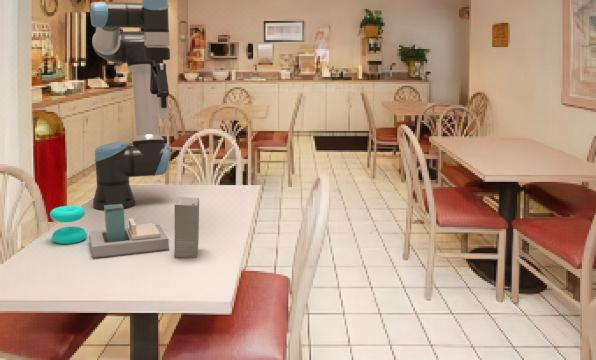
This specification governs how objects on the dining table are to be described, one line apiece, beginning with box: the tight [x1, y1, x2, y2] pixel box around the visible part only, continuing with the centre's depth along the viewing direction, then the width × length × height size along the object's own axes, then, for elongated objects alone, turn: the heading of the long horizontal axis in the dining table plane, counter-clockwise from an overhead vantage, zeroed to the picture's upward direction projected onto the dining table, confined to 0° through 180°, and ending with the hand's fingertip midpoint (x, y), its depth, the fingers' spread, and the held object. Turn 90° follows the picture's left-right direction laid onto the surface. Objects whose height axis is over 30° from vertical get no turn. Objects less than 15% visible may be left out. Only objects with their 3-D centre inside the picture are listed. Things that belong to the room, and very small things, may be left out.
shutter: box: [126, 217, 160, 240], centre depth 184 cm, size 12×8×4 cm, turn 22°
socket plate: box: [88, 224, 170, 260], centre depth 183 cm, size 16×21×4 cm
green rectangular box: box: [103, 204, 126, 243], centre depth 181 cm, size 5×5×12 cm
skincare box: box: [173, 196, 200, 259], centre depth 176 cm, size 8×7×16 cm
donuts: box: [49, 205, 88, 245], centre depth 189 cm, size 10×10×10 cm
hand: (160, 116), depth 193 cm, fingers open, 13 cm apart
